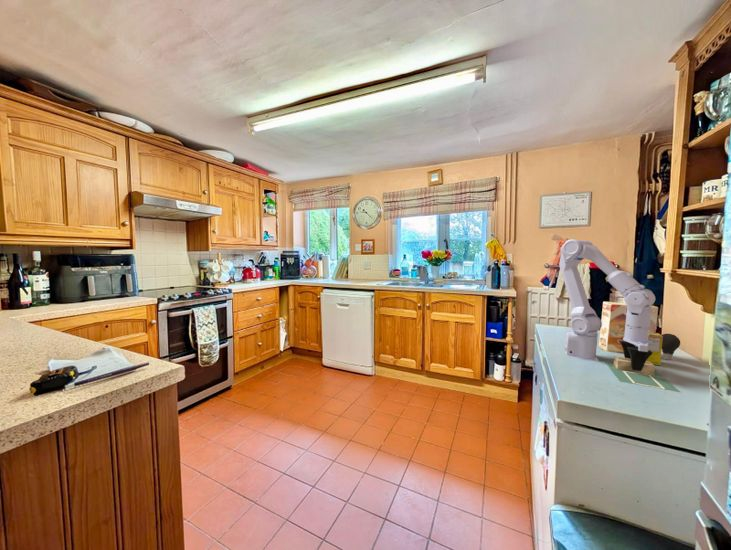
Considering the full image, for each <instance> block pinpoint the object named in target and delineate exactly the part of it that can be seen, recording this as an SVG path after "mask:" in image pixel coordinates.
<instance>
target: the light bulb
mask: <svg viewBox="0 0 731 550" xmlns="http://www.w3.org/2000/svg"><path fill="white" fill-rule="evenodd" d="M660 335H661V336H663V341H662V352H661V353H662V359H663V360H667V361H671V360H673V355H674V354H675V351H677V350H678V348H679V347H680V346H681V341H680V338H679V337H677V336H676V335H675V334H673V333H663V334H660Z"/></svg>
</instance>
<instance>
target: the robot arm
mask: <svg viewBox="0 0 731 550" xmlns="http://www.w3.org/2000/svg"><path fill="white" fill-rule="evenodd" d="M559 258H560V259H559V264H558V266H559V270H560V272H561V275H562V279H563V281H564V286H565V289H566V292H567V295H568V299H569V302H570V305H571V308H572V310H571V311H570V314H569V316H570V322H569V323H570V328H571V330H572V331H566V333H565V340H564V341H565V343H564V352H565V355H566V357H571V358H578V359H583V360H584V359H585V360H589V361H597V362H599V361H600V360H599V359H598V357H597V348H598V347H597V346H598V337H599V336H598V335H599V334H598V331H600V329H601V327H602V322H601V318H600V317H598V315H597V313H596V311H595V309H593V308H592V307H591V306H590V305H591V304H590V303H589V302H590V301H589V299H588V297H587V294H586V293H587V292H586V290H585V286H584V284H583V281H582V280H583V279H582V278H581V275H580V272H579V268H578V266H579V265H580V263H581V262H582V261H583V260H584V259H585V260H589V261H591V262H592V263H593V264H595V266H597V268H599V269H600V270H601V271H602V272H603V273H604V274H605V275H606V276H608V278H607V279H608V280H607V281H608V283H609V284H610V285H611V286H612V287H613V288H614V289H615V290H616V291H617V292H618V293H619V294H620V295H621V296H623V297H624V298H623V300H624V303H626V304H627V305H628V306H627V314H626V325H625V335H624V337H623V340H624V341H620V343H621V345H622V348H623V351H624V353H623V354H624V355H623V356H624V357H623V358H630V359H631V367H632V369H633V370H637V371H641V370H642V368H643V366H644V364H645V362H646V360H647V359H648V358H649V356H651V355H652V352H651V351H648V344H653V342H652V341H649V340H648V337H649V328H650V318H651V306H650V305H652V306H653V305H654V303H655V301H656V296H655V294H654V293H653V291H652V290H650V289H647V288H646V286H645V285H643V284H640V283H639V282H638V281H637V280H636V279H635V278H634V277H633V276H634V274H632V272H627V271H626V270H619V269H618V268H617V267H616V266H615V265H614V264H613V263H612V262H611V260H609V258H607V256H606V255H604V253H603V252H601V250H600V249H599V248H598V246H596V245H595V244H593V243H592V241H590V240H586V239H576V238H575V239H574V238H572V239H567V240H566V241H565V242H564V243H563V244H562V246H561V247H560V257H559Z"/></svg>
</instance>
